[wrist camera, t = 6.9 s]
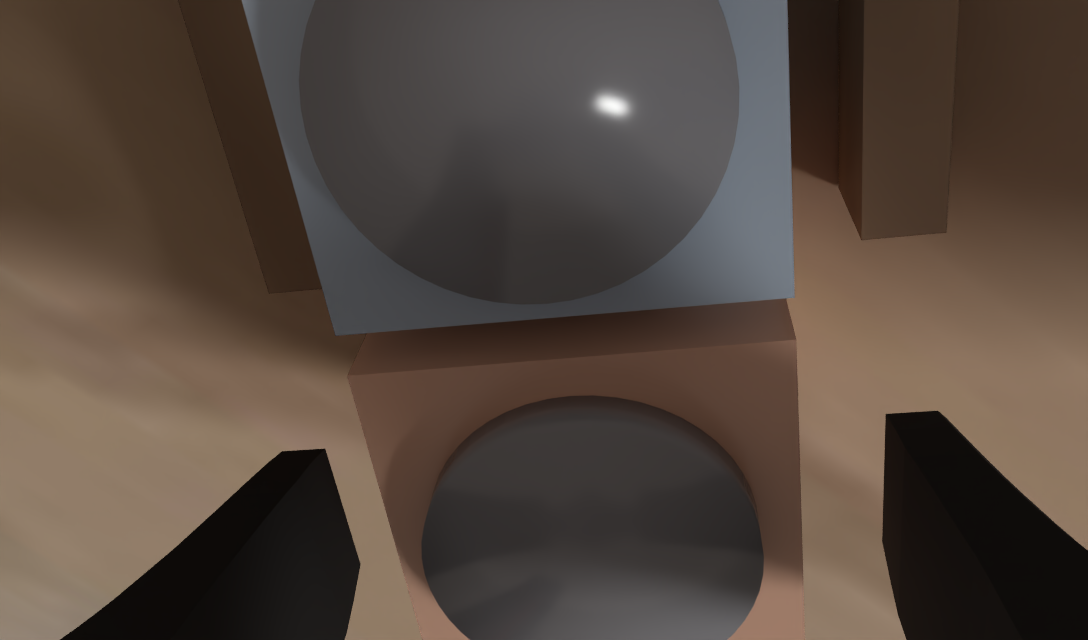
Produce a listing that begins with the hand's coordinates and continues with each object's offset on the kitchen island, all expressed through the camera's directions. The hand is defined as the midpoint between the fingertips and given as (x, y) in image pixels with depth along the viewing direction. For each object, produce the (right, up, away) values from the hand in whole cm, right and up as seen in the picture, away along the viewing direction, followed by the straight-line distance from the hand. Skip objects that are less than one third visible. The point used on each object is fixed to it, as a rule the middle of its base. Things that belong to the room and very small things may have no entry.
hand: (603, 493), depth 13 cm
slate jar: (0, +8, +2) cm, 8 cm away
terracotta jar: (0, +3, +5) cm, 6 cm away
